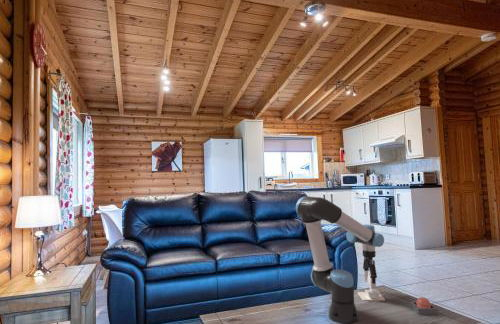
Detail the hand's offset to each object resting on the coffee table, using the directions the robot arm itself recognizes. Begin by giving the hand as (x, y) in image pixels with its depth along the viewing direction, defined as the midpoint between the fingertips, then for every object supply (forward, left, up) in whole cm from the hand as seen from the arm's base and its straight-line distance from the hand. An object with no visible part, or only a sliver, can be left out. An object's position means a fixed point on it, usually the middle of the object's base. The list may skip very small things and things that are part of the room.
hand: (370, 285), depth 200 cm
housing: (+22, -21, -7) cm, 31 cm away
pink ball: (+22, -21, -8) cm, 32 cm away
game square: (0, 0, -7) cm, 7 cm away
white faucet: (0, -3, -6) cm, 7 cm away
